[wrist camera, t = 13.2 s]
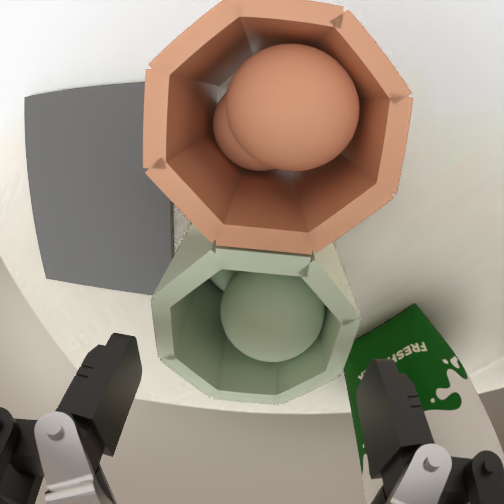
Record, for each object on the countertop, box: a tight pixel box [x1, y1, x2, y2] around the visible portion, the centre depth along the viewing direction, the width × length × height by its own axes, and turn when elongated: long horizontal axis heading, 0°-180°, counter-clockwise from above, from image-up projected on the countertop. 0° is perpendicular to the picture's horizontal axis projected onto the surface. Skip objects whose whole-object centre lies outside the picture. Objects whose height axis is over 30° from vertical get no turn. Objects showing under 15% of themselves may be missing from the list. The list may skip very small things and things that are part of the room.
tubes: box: [143, 0, 413, 405], centre depth 14 cm, size 8×16×10 cm, turn 175°
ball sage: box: [220, 271, 325, 362], centre depth 14 cm, size 4×4×4 cm
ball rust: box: [226, 44, 359, 171], centre depth 10 cm, size 4×4×4 cm
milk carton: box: [343, 304, 504, 504], centre depth 15 cm, size 9×9×20 cm
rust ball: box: [213, 92, 275, 171], centre depth 14 cm, size 4×4×4 cm
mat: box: [25, 82, 174, 295], centre depth 19 cm, size 11×14×1 cm
